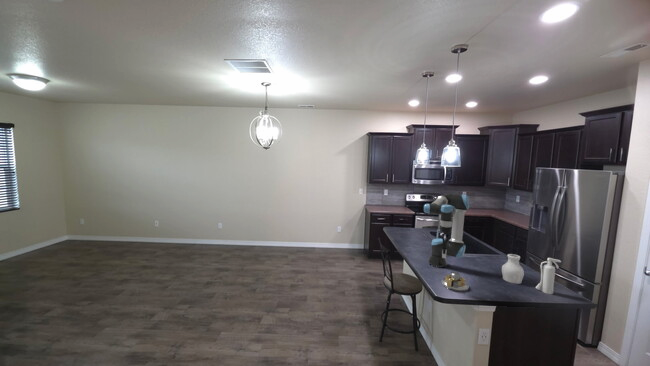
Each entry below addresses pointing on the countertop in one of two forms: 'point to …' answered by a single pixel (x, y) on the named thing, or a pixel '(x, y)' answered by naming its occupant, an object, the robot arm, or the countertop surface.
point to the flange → (455, 283)
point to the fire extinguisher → (547, 276)
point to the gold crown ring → (450, 280)
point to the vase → (513, 270)
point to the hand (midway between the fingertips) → (444, 257)
